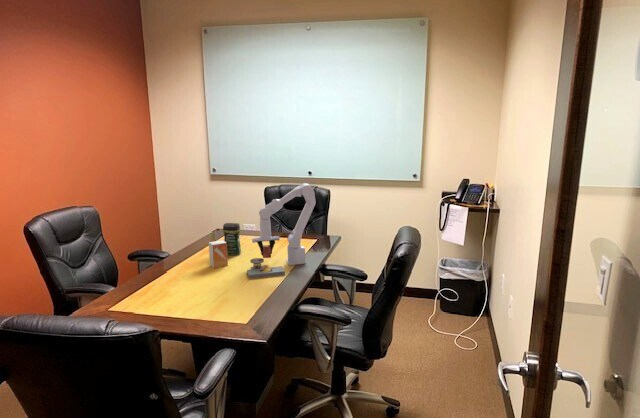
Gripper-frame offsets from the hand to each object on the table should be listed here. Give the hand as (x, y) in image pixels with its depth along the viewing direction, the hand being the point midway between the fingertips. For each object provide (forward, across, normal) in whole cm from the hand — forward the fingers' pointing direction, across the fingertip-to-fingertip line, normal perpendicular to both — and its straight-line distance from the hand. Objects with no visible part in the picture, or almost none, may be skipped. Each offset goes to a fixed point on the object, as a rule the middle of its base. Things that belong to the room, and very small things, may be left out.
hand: (266, 254), depth 231 cm
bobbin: (+6, +6, +6) cm, 11 cm away
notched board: (+6, +3, +16) cm, 17 cm away
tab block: (+2, 0, 0) cm, 2 cm away
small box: (+6, +25, -6) cm, 26 cm away
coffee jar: (+6, +16, -25) cm, 30 cm away
